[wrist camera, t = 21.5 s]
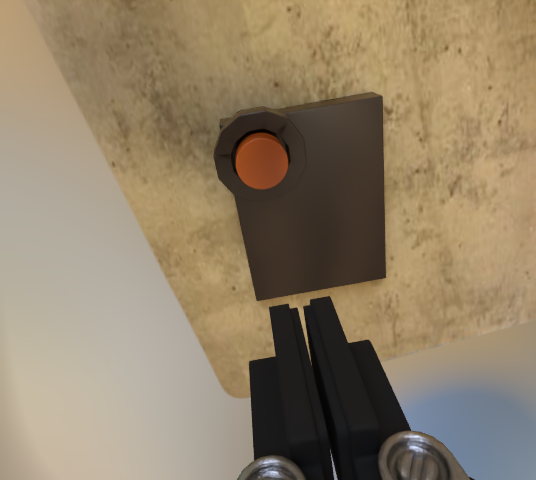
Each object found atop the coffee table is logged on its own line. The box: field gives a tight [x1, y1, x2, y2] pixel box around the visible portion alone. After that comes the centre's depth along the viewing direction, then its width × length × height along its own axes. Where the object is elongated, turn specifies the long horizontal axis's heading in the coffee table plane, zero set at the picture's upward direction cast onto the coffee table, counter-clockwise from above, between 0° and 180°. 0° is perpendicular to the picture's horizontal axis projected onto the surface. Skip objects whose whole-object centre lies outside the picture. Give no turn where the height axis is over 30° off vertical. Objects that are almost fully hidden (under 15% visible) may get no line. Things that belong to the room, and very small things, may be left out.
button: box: [236, 133, 288, 189], centre depth 28 cm, size 4×4×2 cm
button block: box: [214, 92, 386, 301], centre depth 32 cm, size 13×17×4 cm
